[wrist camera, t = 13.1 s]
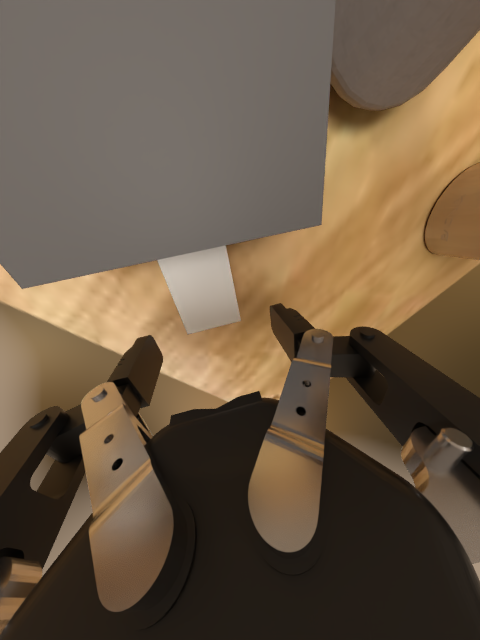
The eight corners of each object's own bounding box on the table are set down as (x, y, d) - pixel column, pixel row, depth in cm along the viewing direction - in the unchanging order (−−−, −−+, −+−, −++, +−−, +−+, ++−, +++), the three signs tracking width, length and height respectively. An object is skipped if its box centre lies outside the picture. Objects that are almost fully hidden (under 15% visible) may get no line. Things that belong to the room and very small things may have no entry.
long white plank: (115, 105, 12) (65, 36, 7) (188, 95, 12) (180, 23, 8) (190, 310, 20) (187, 334, 16) (232, 300, 20) (241, 320, 16)
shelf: (262, 224, 17) (321, 224, 9) (115, 255, 16) (22, 288, 7) (245, 33, 11) (366, -484, 3) (14, 59, 10) (-806, -662, 2)
